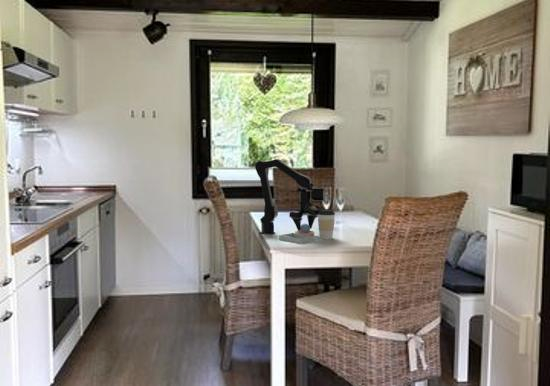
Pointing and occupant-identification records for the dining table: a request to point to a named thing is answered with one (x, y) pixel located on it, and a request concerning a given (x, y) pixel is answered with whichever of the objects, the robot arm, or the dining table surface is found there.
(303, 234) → the bowl
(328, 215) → the coffee cup
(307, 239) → the shallow serving tray
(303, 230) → the ball
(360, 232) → the dining table surface
